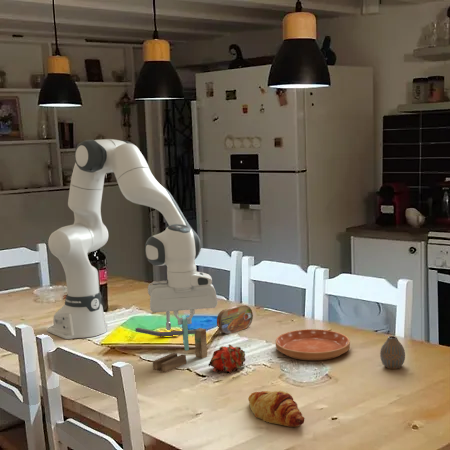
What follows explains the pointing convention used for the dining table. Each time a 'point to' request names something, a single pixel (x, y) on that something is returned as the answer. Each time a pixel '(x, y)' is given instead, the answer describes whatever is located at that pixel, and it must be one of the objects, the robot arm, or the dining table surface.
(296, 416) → the croissant
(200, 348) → the curved rod stand
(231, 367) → the dragon fruit
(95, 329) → the robot arm
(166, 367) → the slot block
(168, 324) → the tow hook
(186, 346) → the square ring
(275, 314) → the dining table surface
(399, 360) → the vase
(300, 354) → the saucer
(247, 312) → the tin
